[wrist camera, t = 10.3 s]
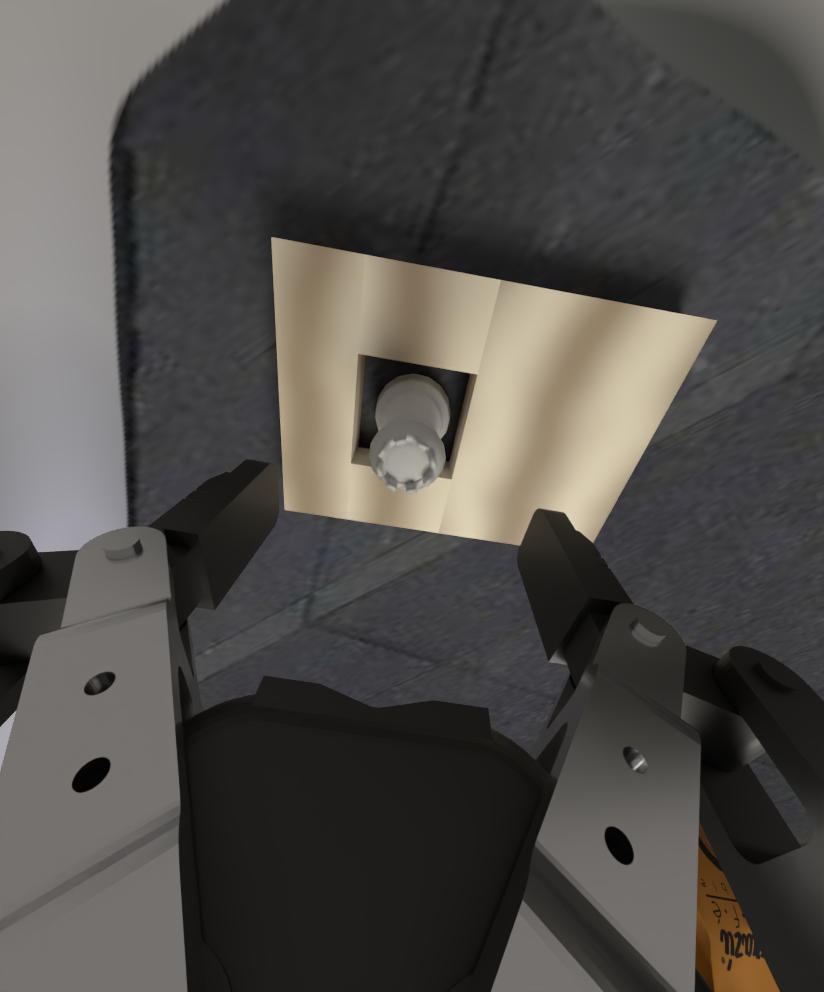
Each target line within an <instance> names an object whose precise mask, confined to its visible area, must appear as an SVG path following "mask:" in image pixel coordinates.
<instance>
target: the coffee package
mask: <svg viewBox="0 0 824 992" xmlns="http://www.w3.org/2000/svg"><path fill="white" fill-rule="evenodd" d="M695 968H696V969H697V971H698V972H699V973H700V975H701V976H702V977H703V979H704V980H705V981H706V983H707V984H708V985H709V987H710V988H711V989H712V991H713V992H780V991H779V989H778V987H777V985H776V982H775V980H774V978H773V976H772V974H771V972H770V970H769V968H768V966H767V963H766V961H765V959H764V957H763V955H762V953H761V951H760V949H759V947H758V944H757V942H756V940H755V938H754V936H753V934H752V932H751V930H750V928H749V925H748V923H747V921H746V919H745V917H744V915H743V913H742V911H741V909H740V906H739V904H738V902H737V900H736V898H735V896H734V894H733V892H732V890H731V887H730V885H729V883H728V881H727V879H726V877H725V875H724V873H723V871H722V868H721V866H720V864H719V862H718V860H717V858H716V856H715V854H714V852H713V849H712V847H711V845H710V843H709V841H708V839H707V837H706V835H705V833H704V830H703V828H702V826H701V824H700V822H699V838H698V876H697V914H696V952H695Z"/></svg>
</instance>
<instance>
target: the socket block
mask: <svg viewBox="0 0 824 992" xmlns="http://www.w3.org/2000/svg"><path fill="white" fill-rule="evenodd" d="M271 242H272V263H273V283H274V303H275V323H276V344H277V364H278V384H279V405H280V425H281V445H282V466H283V486H284V506H285V510H289V511H296V512H303V513H309V514H316V515H322V516H329V517H336V518H342V519H349V520H355V521H362V522H369V523H375V524H382V525H388V526H395V527H402V528H408V529H415V530H422V531H428V532H435V533H441V534H448V535H455V536H461V537H468V538H474V539H481V540H488V541H494V542H501V543H507V544H514V545H521V542H522V540H523V538H524V535H525V533H526V530H527V528H528V526H529V523H530V521H531V518H532V516H533V514H534V512H535V511H536V510H537V509H539V508H541V509H547V510H553V511H559V512H564V513H565V514H566V515H567V517H568V518H569V520H570V522H571V523H572V525H573V526H574V528H575V530H576V531H580V532H581V533H582V534H583V535H584V536H585V537H587V538H588V539H589V540H590V541H591V542H592V543H593V542H594V540H595V538H596V537H597V535H598V533H599V531H600V529H601V528H602V526H603V524H604V522H605V520H606V519H607V517H608V515H609V513H610V512H611V510H612V508H613V506H614V504H615V503H616V501H617V499H618V497H619V495H620V494H621V492H622V490H623V488H624V486H625V485H626V483H627V481H628V479H629V477H630V476H631V474H632V472H633V470H634V469H635V467H636V465H637V463H638V461H639V460H640V458H641V456H642V454H643V452H644V451H645V449H646V447H647V445H648V443H649V442H650V440H651V438H652V436H653V434H654V433H655V431H656V429H657V427H658V426H659V424H660V422H661V420H662V418H663V417H664V415H665V413H666V411H667V409H668V408H669V406H670V404H671V402H672V400H673V399H674V397H675V395H676V393H677V391H678V390H679V388H680V386H681V384H682V383H683V381H684V379H685V377H686V375H687V374H688V372H689V370H690V368H691V366H692V365H693V363H694V361H695V359H696V357H697V356H698V354H699V352H700V350H701V348H702V347H703V345H704V343H705V341H706V340H707V338H708V336H709V334H710V332H711V331H712V329H713V327H714V325H715V323H716V322H717V320H711V319H706V318H701V317H695V316H690V315H685V314H679V313H674V312H669V311H663V310H658V309H653V308H647V307H642V306H637V305H631V304H626V303H621V302H615V301H610V300H605V299H599V298H594V297H589V296H583V295H578V294H573V293H567V292H562V291H557V290H551V289H546V288H541V287H535V286H530V285H525V284H519V283H514V282H509V281H503V280H498V279H493V278H488V277H482V276H477V275H472V274H466V273H461V272H456V271H450V270H445V269H440V268H434V267H429V266H424V265H418V264H413V263H408V262H402V261H397V260H392V259H386V258H381V257H376V256H370V255H365V254H360V253H354V252H349V251H344V250H338V249H333V248H328V247H322V246H317V245H312V244H306V243H301V242H296V241H290V240H285V239H280V238H274V237H271ZM366 355H368V356H374V357H379V358H385V359H391V360H397V361H402V362H408V363H414V364H420V365H425V366H431V367H437V368H443V369H448V370H454V371H460V372H466V373H470V376H469V380H468V385H467V389H466V393H465V397H464V402H463V406H462V410H461V414H460V418H459V423H458V427H457V431H456V435H455V440H454V444H453V448H452V452H451V457H450V461H449V462H447V461H445V464H444V467H443V471H442V472H441V474H440V475H439V476H438V477H437V479H436V480H435V481H434V482H433V483H431V484H430V485H429V486H428V487H427V486H426V487H424V488H422V489H418V493H413V494H406V491H405V490H400V489H396V490H395V492H393V491H392V490H390V489H388V488H387V487H385V483H384V482H382V481H381V480H380V479H379V478H378V477H377V475H376V474H375V472H374V471H373V470H372V466H371V463H370V459H369V452H370V449H366V448H360V447H359V434H360V421H361V409H362V396H363V383H364V370H365V358H366Z"/></svg>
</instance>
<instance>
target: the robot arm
mask: <svg viewBox="0 0 824 992" xmlns="http://www.w3.org/2000/svg"><path fill="white" fill-rule="evenodd" d="M278 514H279V497H278V480H277V469H276V466H275V464H273V463H268V462H262V461H256V460H250V459H247V460H245V461H244V462H242V463H241V464H240V465H239V466H238V467H236V468H235V469H234V470H233V471H232V472H230V473H228V472H226V473H223V474H221V475H218V476H215V477H213V478H210V479H208V480H207V481H206V482H204V483H203V484H202V485H201V486H199V487H198V488H197V489H196V491H193V492H192V493H190V494H189V495H188V496H187V497H186V499H183V500H181V501H180V502H179V503H178V504H176V505H175V506H174V507H172V508H171V509H170V510H169V511H167V512H166V513H165V514H163V515H162V516H161V517H160V518H158V519H157V520H156V521H155V522H153V523H152V524H151V525H149V526H148V527H128V528H122V529H117V530H114V531H110V532H108V533H105V534H102V535H100V536H98V537H96V538H94V539H92V540H90V541H89V542H88V543H86V544H85V545H84V546H83V547H82V548H80V550H74V551H56V552H37V550H36V549H35V547H34V545H33V543H32V541H31V539H30V538H29V537H28V536H27V535H26V534H23V533H20V532H15V531H0V727H1V725H2V724H3V723H4V722H5V721H6V720H7V719H8V718H9V717H10V716H11V715H12V714H13V713H14V712H15V711H16V710H17V711H16V715H15V719H14V722H13V726H12V730H11V733H10V737H9V741H8V745H7V749H6V752H5V756H4V760H3V763H2V767H1V771H0V992H713V991H712V989H711V988H710V987H709V985H708V984H707V983H706V981H705V980H704V979H703V977H702V976H701V975H700V973H699V972H698V971H697V969H696V968H695V952H696V914H697V876H698V838H699V822H700V824H701V826H702V828H703V830H704V833H705V835H706V837H707V839H708V841H709V843H710V845H711V847H712V849H713V852H714V854H715V856H716V858H717V860H718V862H719V864H720V866H721V868H722V871H723V873H724V875H725V877H726V879H727V881H728V883H729V885H730V887H731V890H732V892H733V894H734V896H735V898H736V900H737V902H738V904H739V906H740V909H741V911H742V913H743V915H744V917H745V919H746V921H747V923H748V925H749V928H750V930H751V932H752V934H753V936H754V938H755V940H756V942H757V944H758V947H759V949H760V951H761V953H762V955H763V957H764V959H765V961H766V963H767V966H768V968H769V970H770V972H771V974H772V976H773V978H774V980H775V982H776V985H777V987H778V989H779V991H780V992H824V701H823V700H822V699H821V698H820V697H819V696H818V695H817V694H816V693H815V692H814V690H813V689H812V688H811V687H810V686H809V685H808V684H807V683H806V682H805V681H804V680H803V679H802V678H800V677H799V676H798V675H797V674H796V673H795V672H793V671H792V670H791V669H789V668H788V667H787V666H785V665H784V664H782V663H781V662H779V661H777V660H776V659H774V658H772V657H770V656H769V655H767V654H765V653H762V652H760V651H758V650H755V649H752V648H749V647H744V646H736V647H733V648H731V649H730V650H729V651H728V652H727V653H726V654H725V655H724V656H723V657H722V658H721V659H719V658H717V657H714V656H712V655H709V654H707V653H704V652H702V651H699V650H696V649H694V648H691V647H689V646H686V645H685V642H684V640H683V638H682V637H681V635H680V634H679V633H678V632H677V630H676V629H675V628H674V627H673V626H672V625H671V624H670V623H668V622H667V621H666V620H665V619H664V618H662V617H661V616H659V615H658V614H656V613H654V612H653V611H651V610H649V609H647V608H644V607H642V606H639V605H636V604H633V602H632V601H631V599H630V598H629V596H628V595H627V593H626V592H625V590H624V589H623V587H622V586H621V584H620V583H619V581H618V580H617V578H616V577H615V575H614V574H613V572H612V571H611V569H608V565H607V563H606V562H605V560H604V559H603V558H601V554H600V553H599V551H598V550H597V548H596V547H595V545H594V544H593V543H592V542H591V541H590V540H589V539H588V538H587V537H585V536H584V535H583V534H582V533H581V532H580V531H576V530H575V528H574V526H573V525H572V523H571V522H570V520H569V518H568V517H567V515H566V514H565V513H564V512H559V511H553V510H547V509H541V508H539V509H537V510H536V511H535V512H534V514H533V516H532V518H531V521H530V523H529V526H528V528H527V530H526V533H525V535H524V538H523V540H522V542H521V545H520V547H519V551H518V558H517V562H518V568H519V571H520V574H521V577H522V580H523V583H524V586H525V590H526V593H527V596H528V599H529V602H530V605H531V608H532V611H533V614H534V617H535V621H536V624H537V627H538V630H539V633H540V636H541V639H542V642H543V645H544V648H545V652H546V655H547V658H548V661H549V662H552V663H559V664H566V665H568V668H569V671H570V673H569V674H568V676H567V677H566V679H565V681H564V683H563V685H562V687H561V689H560V692H559V694H558V696H557V698H556V701H555V703H554V705H553V707H552V709H551V712H550V714H549V716H548V718H547V720H546V723H545V725H544V727H543V729H542V732H541V734H540V736H539V738H538V740H537V742H536V744H535V745H534V747H533V749H532V751H531V752H530V754H528V753H527V752H526V751H525V750H524V749H523V748H521V747H520V746H519V745H517V744H516V743H515V742H513V741H512V740H511V739H509V738H507V737H505V736H504V735H502V734H500V733H499V732H497V731H495V730H493V729H491V726H490V719H489V711H488V708H482V707H475V706H468V705H461V704H455V703H448V702H441V701H427V702H419V703H412V704H405V705H397V706H390V707H383V708H374V707H371V706H368V705H366V704H364V703H361V702H359V701H357V700H355V699H352V698H350V697H348V696H346V695H344V694H341V693H339V692H337V691H335V690H332V689H330V688H328V687H326V686H324V685H321V684H317V683H311V682H304V681H297V680H290V679H283V678H276V677H269V676H264V677H263V679H262V681H261V683H260V685H259V688H258V690H257V692H256V694H255V695H248V696H244V697H240V698H236V699H232V700H229V701H226V702H224V703H221V704H218V705H215V706H213V707H211V708H209V709H207V710H205V711H203V708H202V704H201V699H200V694H199V689H198V682H197V674H196V667H195V660H194V652H193V645H192V637H191V630H190V623H189V620H188V616H189V615H190V614H191V613H192V611H193V610H194V609H195V608H196V607H198V608H205V609H211V610H215V609H216V608H217V606H218V605H219V603H220V602H221V601H222V599H223V598H224V596H225V595H226V594H227V592H228V591H229V589H230V588H231V587H232V585H233V584H234V582H235V581H236V580H237V578H238V577H239V575H240V574H241V573H242V571H243V570H244V568H245V567H246V566H247V564H248V563H249V561H250V560H251V559H252V557H253V556H254V554H255V553H256V552H257V550H258V549H259V547H260V546H261V545H262V543H263V542H264V540H265V539H266V538H267V536H268V535H269V533H270V532H271V531H272V529H273V528H274V526H275V524H276V522H277V518H278ZM764 752H767V754H768V755H769V756H770V758H771V759H772V761H773V762H774V764H775V765H776V767H777V768H778V769H779V771H780V772H781V774H782V775H783V777H784V778H785V779H786V781H787V782H788V784H789V785H790V787H791V788H792V789H793V791H794V792H795V794H796V795H797V797H798V798H799V799H800V801H801V802H802V804H803V805H804V807H805V808H806V810H807V812H808V814H809V816H810V819H811V822H812V826H813V838H812V840H811V842H810V843H809V844H807V845H806V846H803V847H801V846H800V844H799V843H798V841H797V840H796V838H795V837H794V835H793V833H792V832H791V830H790V829H789V827H788V826H787V824H786V823H785V821H784V819H783V818H782V816H781V815H780V813H779V812H778V810H777V808H776V807H775V805H774V804H773V802H772V801H771V799H770V798H769V796H768V794H767V793H766V791H765V790H764V788H763V787H762V785H761V783H760V782H759V780H758V779H757V777H756V776H755V774H754V773H753V771H752V769H751V768H750V766H749V765H748V763H749V762H751V761H752V760H754V759H755V758H757V757H758V756H760V755H761V754H763V753H764Z"/></svg>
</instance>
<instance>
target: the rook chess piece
mask: <svg viewBox="0 0 824 992" xmlns="http://www.w3.org/2000/svg"><path fill="white" fill-rule="evenodd" d="M450 414H451V413H450V405H449V399H448V397H447V395H446V394H445V392H444V390H443V389H442V387H441V386H440V385H439V384H438V383H436V382H435V381H434V380H432V379H431V378H429V377H427V376H423V375H418V374H414V373H413V374H408V375H402V376H398V377H396V378H395V379H394V380H392V381H391V382H389V383H388V384H386V385H385V387H384V388H383V390H382V392H381V393H380V395H379V397H378V400H377V405H376V412H375V419H376V423H377V427H378V432H377V434H376V436H375V437H374V439H373V440H372V442H371V445H370V452H369V459H370V463H371V466H372V470H373V471H374V472H375V474H376V475H377V477H378V478H379V479H380V480H381V481H382V482H384V483H385V487H387V488H388V489H390V490H392V491H393V492H395V490H396V489H400V490H405V491H406V494H413V493H418V489H422V488H424V487H426V486H427V487H428V486H429V485H430V484H431V483H433V482H434V481H435V480H436V479H437V477H438V476H439V475H440V474H441V472H442V471H443V467H444V464H445V460H446V455H445V448H444V444H443V442H442V440H441V438H442V437H443V436H444V434H445V433H446V432H447V428H448V424H449V421H450Z"/></svg>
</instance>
